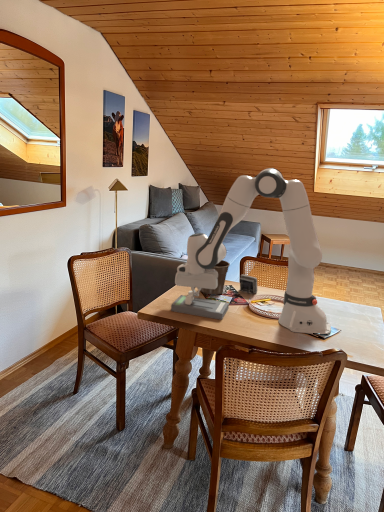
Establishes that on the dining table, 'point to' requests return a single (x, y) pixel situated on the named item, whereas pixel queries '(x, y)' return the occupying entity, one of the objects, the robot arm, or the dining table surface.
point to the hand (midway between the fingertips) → (196, 295)
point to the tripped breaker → (191, 294)
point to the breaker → (188, 299)
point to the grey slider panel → (201, 307)
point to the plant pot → (222, 271)
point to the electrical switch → (248, 284)
